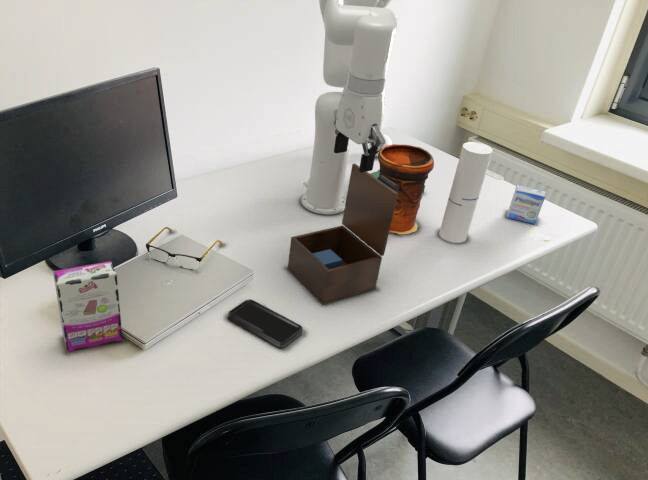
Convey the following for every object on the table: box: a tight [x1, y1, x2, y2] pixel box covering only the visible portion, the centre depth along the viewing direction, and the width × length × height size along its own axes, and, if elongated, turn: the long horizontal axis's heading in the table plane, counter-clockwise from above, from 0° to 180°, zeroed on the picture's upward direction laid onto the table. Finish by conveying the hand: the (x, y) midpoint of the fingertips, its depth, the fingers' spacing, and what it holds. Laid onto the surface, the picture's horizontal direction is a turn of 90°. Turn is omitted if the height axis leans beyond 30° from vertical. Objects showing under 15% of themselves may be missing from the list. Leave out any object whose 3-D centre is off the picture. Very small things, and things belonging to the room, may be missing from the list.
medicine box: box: [506, 184, 547, 225], centre depth 183 cm, size 8×4×9 cm, turn 68°
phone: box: [227, 299, 303, 349], centre depth 138 cm, size 8×1×15 cm
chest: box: [287, 224, 383, 305], centre depth 152 cm, size 15×16×9 cm
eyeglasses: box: [145, 226, 224, 263], centre depth 158 cm, size 14×14×4 cm
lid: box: [341, 163, 399, 257], centre depth 148 cm, size 16×16×6 cm
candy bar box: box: [52, 261, 123, 353], centre depth 126 cm, size 11×5×16 cm, turn 114°
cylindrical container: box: [438, 141, 494, 244], centre depth 167 cm, size 7×7×25 cm
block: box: [313, 249, 342, 269], centre depth 151 cm, size 5×5×6 cm
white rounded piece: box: [368, 133, 393, 158], centre depth 211 cm, size 10×7×7 cm
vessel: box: [377, 143, 435, 236], centre depth 172 cm, size 14×14×20 cm
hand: (352, 161), depth 142 cm, fingers open, 9 cm apart
